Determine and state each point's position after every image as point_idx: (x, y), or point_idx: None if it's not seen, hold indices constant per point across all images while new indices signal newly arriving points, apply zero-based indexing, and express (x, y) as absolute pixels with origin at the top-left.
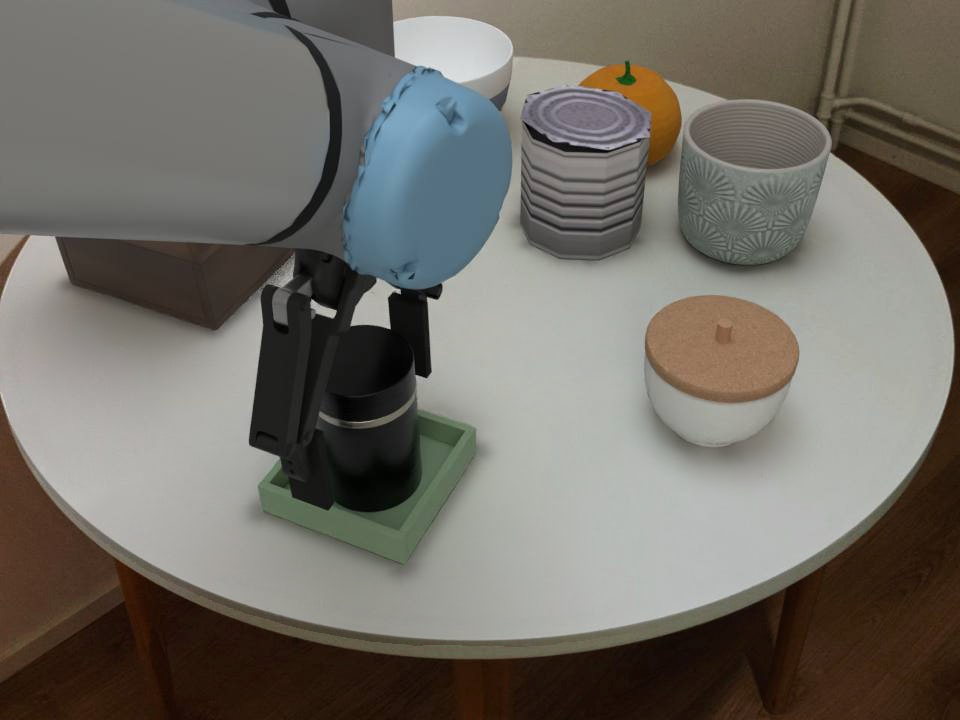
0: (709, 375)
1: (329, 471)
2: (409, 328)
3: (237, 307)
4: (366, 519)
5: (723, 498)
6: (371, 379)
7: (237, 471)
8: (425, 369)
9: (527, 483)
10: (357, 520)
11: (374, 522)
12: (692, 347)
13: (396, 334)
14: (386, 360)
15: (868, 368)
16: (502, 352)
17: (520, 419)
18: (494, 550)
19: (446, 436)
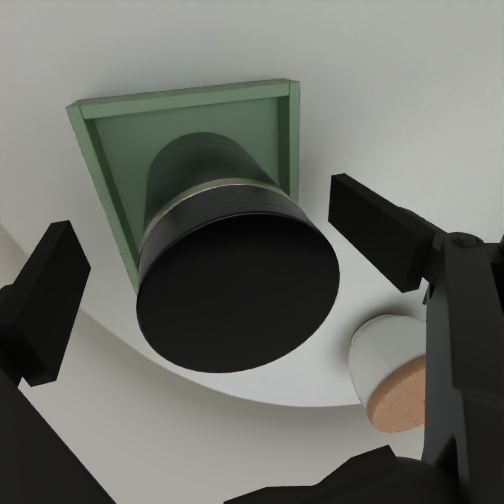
0: (386, 414)
1: (78, 307)
2: (374, 242)
3: None
4: (130, 257)
5: (313, 369)
6: (213, 348)
7: (100, 3)
8: (335, 226)
9: None
10: (123, 250)
11: (133, 265)
12: (414, 395)
13: (328, 307)
14: (264, 335)
15: None
16: (416, 184)
17: (336, 247)
18: None
19: None
